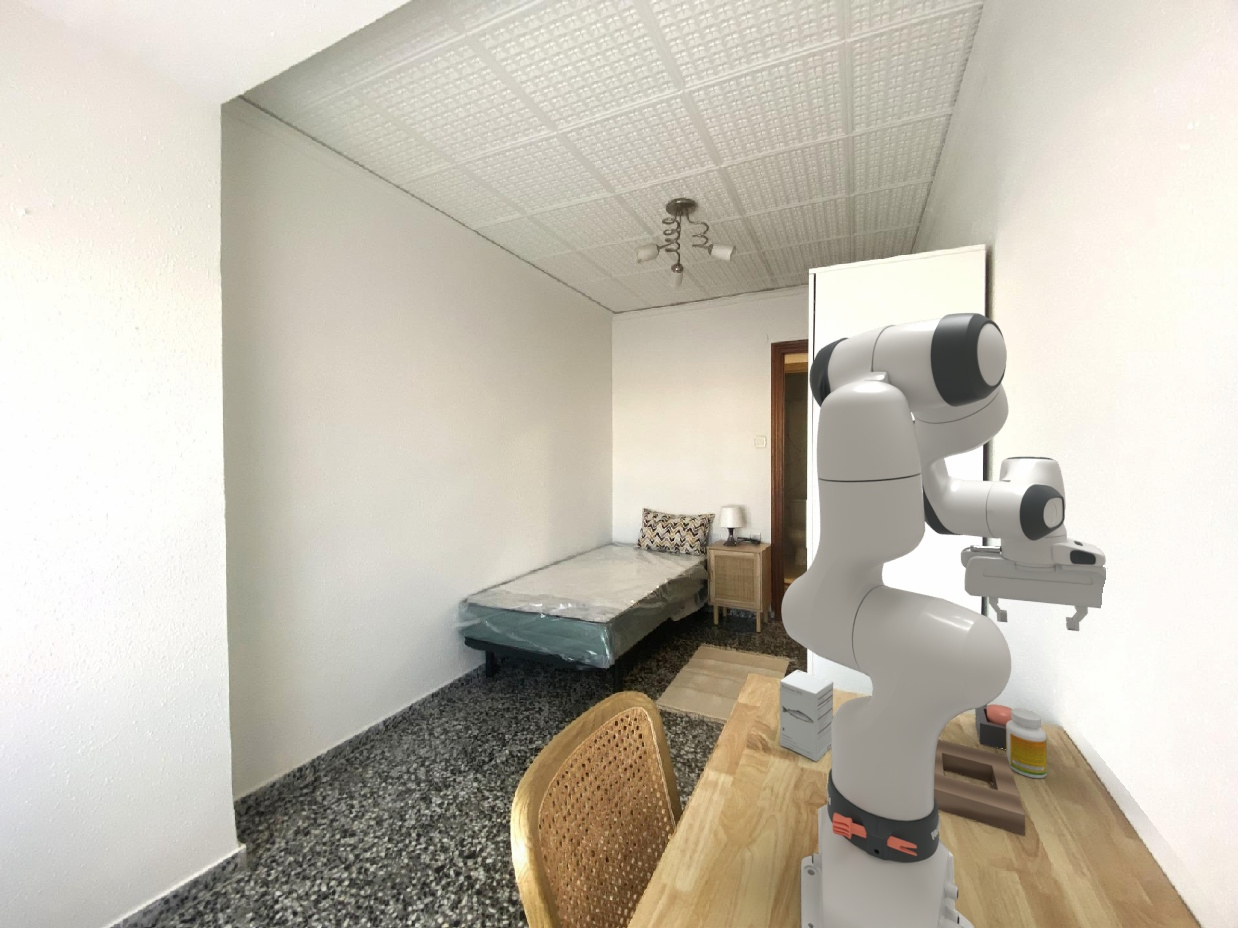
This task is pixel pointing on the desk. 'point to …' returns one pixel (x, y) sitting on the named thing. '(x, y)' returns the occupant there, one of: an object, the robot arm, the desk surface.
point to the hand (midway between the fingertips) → (1036, 625)
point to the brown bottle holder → (978, 786)
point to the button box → (989, 730)
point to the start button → (998, 714)
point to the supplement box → (806, 714)
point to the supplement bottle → (1026, 744)
